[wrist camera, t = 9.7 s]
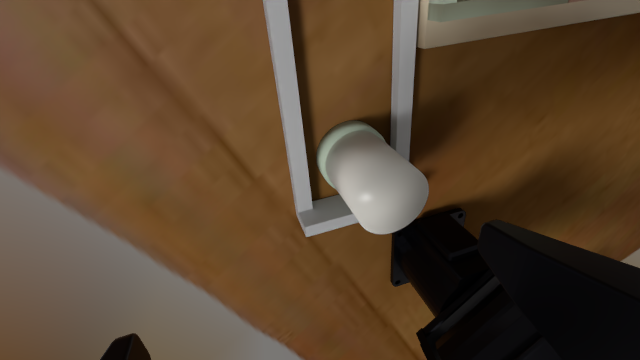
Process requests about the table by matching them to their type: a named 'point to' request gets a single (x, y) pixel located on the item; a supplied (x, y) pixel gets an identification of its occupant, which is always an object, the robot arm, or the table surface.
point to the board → (506, 17)
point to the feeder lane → (309, 212)
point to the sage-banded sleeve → (371, 177)
